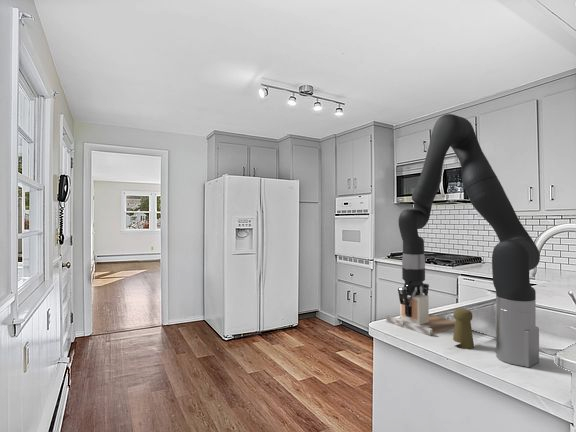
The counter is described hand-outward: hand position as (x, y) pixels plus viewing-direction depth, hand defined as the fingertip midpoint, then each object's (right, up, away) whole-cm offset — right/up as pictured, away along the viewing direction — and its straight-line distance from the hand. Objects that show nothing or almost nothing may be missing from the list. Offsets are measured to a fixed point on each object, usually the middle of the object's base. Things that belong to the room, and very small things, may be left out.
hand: (413, 314), depth 124 cm
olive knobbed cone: (+10, -5, -15) cm, 19 cm away
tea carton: (0, -2, 0) cm, 2 cm away
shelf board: (+5, -5, +2) cm, 7 cm away
